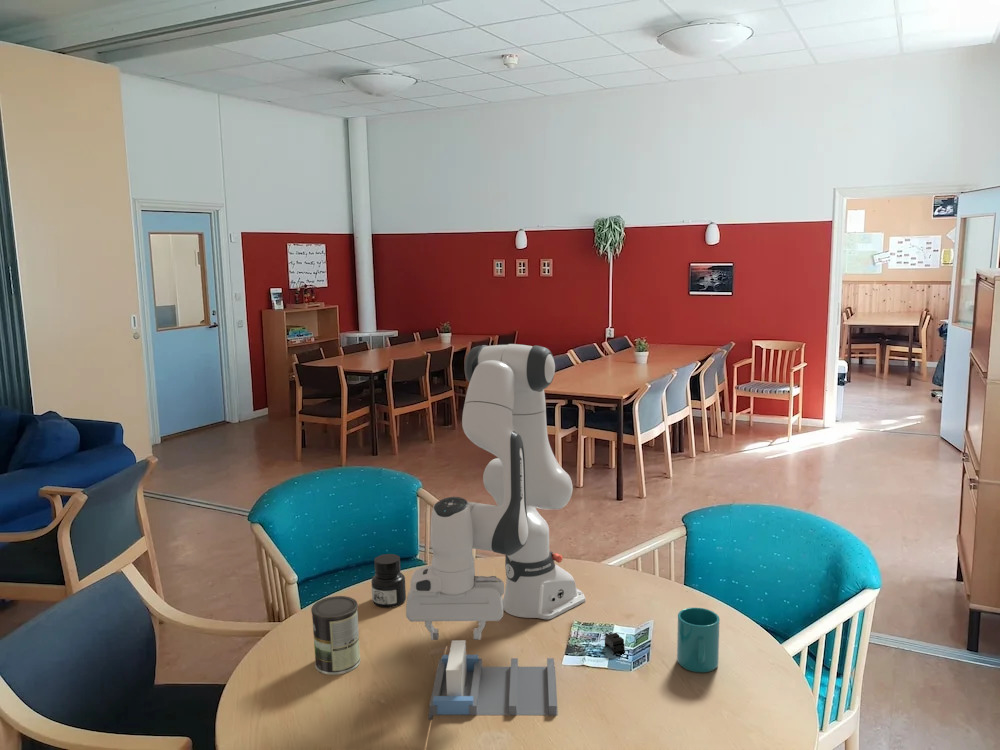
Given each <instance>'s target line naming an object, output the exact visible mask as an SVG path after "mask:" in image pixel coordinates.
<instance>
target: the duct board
mask: <svg viewBox="0 0 1000 750" xmlns="http://www.w3.org/2000/svg"><path fill="white" fill-rule="evenodd" d="M448 658H449V654H442V657H441V658H440V657H439V660H438V664H437V669H436V672H435V678H434V683H433V688H432V691H431V697H430V701H429V705H428V707H429V711H428V720H433V719H434V716H559V713H558V712H559V711H558V710H559V709H558V696H557V695H558V694H557V693H558V691H557V676H556V674H557V673H556V666H555V658H553V657H549V658H548V657H547V658H546V666H519V659H518V657H515V658H512V657H511V658H510V666H483V658H481V657H480V658H479V654H466V666H467V676H466V683H465V689H464V696H447V682H446V668H447V663H448Z"/></svg>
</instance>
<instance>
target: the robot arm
mask: <svg viewBox="0 0 1000 750" xmlns="http://www.w3.org/2000/svg"><path fill="white" fill-rule="evenodd" d="M464 360H465V361H464V375H465V376H464V377H465V378H466V380H467V382H468V383H469V384H468V387H467V390H466V393H465V394H466V395H465V400H464V404H463V410H462V415H461V416H462V418H461V419H462V420H461V425H462V430H463V432H464V434H465V436H466V437H467V438H468V439H469V440H470V442H472V443H473V444H474V445H475V446H477V447H478V448H481V449H482V450H484V451H487V452H488V453H490V454H492V455H493V456H495V458H494V459H491V460H490V461H489V462H488V464H487V465H486V466H485V468H484V471H483V475H482V481H483V486H484V488H485V490H486V491H487V492H488V493H489V495H491V497H492V498H493V500H494V502H495V503H496V504H495V505H494V504H487V503H480V502H474V501H473V502H472V501H467V499H465V498H463V497H460V496H450V497H444V498H442V499H440V500H438V501H437V502H435V504H434V505H433V507H432V511H431V517H430V535H429V536H430V538H429V539H430V547H431V550H432V559H431V564H430V565H427V566H423V567H421V568H417V569H415V571H414V572H413V574H412V576H411V579H410V589H409V591H408V595H407V596H406V604H405V616H406V619H407V620H408V621H409V622H424V626H425V628H426V630H427V631H428V632H429V633H430V640H431V641H438V640H439V637H440V636H439V628H435V627H434V625H433V622H478V627H476V628H473V640H477V641H478V640H481V639H482V632H483V630H484V628H485V627H486V623H487V622H494V621H495V622H499V621H501V619H502V618H503V616H504V611H505V613H506V614H509V615H511V616H514V617H519V618H526V619H527V618H529V619H532V618H533V619H534V618H535V619H536V618H537V619H541V620H552V619H553V618H555V617H558V616H559V615H561V614H563V613H565V612H567V611H569V610H571V609H572V608H575V607H577V606H579V605H581V604H583V603H585V602H586V596H585V594H584V592H583V591H582V590H580V589H579V588H577V585H576V581H575V579H574V577H573V575H572V574H570V572H568V571H567V570H566V569H563V568H562V567H561V566H559V565H557V564H556V563H555V562H557V563H558V564H559V563H561V562H562V561H563V559H564V558H563V556H562V554H559V553H557V552H556V553H554V552H553V551H551V550H550V527H549V523H547V521H546V520H545V518H543V516H541V514H540V513H539V511H538V510H537V509H539V510H540V509H541V510H549V511H550V510H551V511H552V510H561V509H564V508H565V507H566V505H567V504H568V503H569V502H570V501H571V498H572V495H573V487H574V486H573V483H572V482H573V481H572V479H571V476H570V475H569V474H568V472H566V471H565V470H564V469H563V467H561V465H560V464H559V461H558V460H557V458H556V457H555V454H554V452H553V449H552V447H551V445H550V441H549V440H550V439H549V435H548V425H547V406H546V405H547V403H546V393H545V389H547V388H548V387H549V386H550V385H551V384H552V383H553V380H554V377H555V372H556V364H555V357H554V355H553V353H552V351H551V350H550V349H549V348H547V347H544V346H541V345H533V346H532V345H526V344H518V343H508V344H495V345H494V344H493V345H486V344H482V345H476V346H475V347H472V348H471V349H470V351H468V352H467V354H466V356H465V359H464ZM473 549H474V550H480V551H481V550H483V551H490V552H493V553H496V554H500V555H505V561H504V562H505V566H504V567H505V575H506V577H505V578H506V581H505V582H506V583H504V581H503V580H502V579H501V578H499V577H497V576H496V575H491V576H483V575H476V572H475V571H476V569H475V559H474V556H473V555H474V554H473Z"/></svg>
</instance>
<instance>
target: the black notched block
mask: <svg viewBox="0 0 1000 750" xmlns="http://www.w3.org/2000/svg"><path fill="white" fill-rule="evenodd" d="M604 637H605V638H604V647H605V648H607V647H610V649H611V650H612V654H613V656H615V655H622V654H624V653H625V651H626V650H625V648H626V645H625V644H626V643H625V639H624V638H622V636H620V635H619V634H618V633H617V632H613V633H609V634H605V635H604Z"/></svg>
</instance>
